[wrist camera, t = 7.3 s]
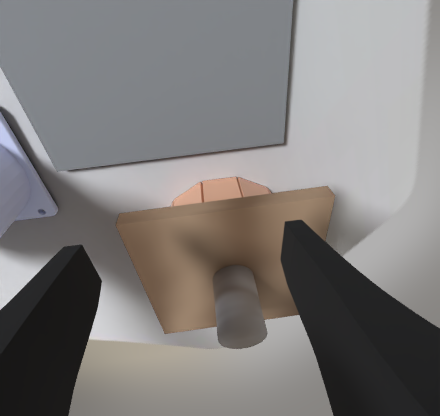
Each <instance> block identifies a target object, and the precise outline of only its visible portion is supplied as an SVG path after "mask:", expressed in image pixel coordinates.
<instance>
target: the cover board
mask: <svg viewBox="0 0 440 416" xmlns="http://www.w3.org/2000/svg"><path fill="white" fill-rule="evenodd" d="M334 199H335V195H334V194H333V193H332V191H331V190H330V189H329V187H328V186H324V187H316V188H309V189H301V190H293V191H286V192H278V193H271V194H263V195H256V196H248V197H241V198H233V199H226V200H218V201H210V202H203V203H195V204H188V205H180V206H173V207H165V208H158V209H150V210H143V211H135V212H128V213H120V214H119V217H118V220H117V223H116V227H117V229H118V231H119V234H120V236H121V238H122V240H123V242H124V245H125V247H126V249H127V251H128V254H129V256H130V258H131V260H132V262H133V265H134V267H135V269H136V271H137V273H138V276H139V278H140V280H141V282H142V284H143V287H144V289H145V291H146V293H147V296H148V298H149V300H150V302H151V304H152V307H153V309H154V311H155V313H156V315H157V318H158V320H159V322H160V324H161V326H162V329H163V331H164V333H165V334H168V333H175V332H182V331H189V330H196V329H203V328H210V327H217V333H218V342H219V343H220V344H221V345H222V346H224V347H227V348H232V349H242V348H248V347H251V346H254V345H256V344H259V343H260V342H262V341H263V340H264V339H265V338H266V336H267V329H266V325H265V321H264V320H266V319H273V318H280V317H287V316H294V315H299V313H298V310H297V308H296V305H295V303H294V300H293V298H292V295H291V293H290V290H289V288H288V285H287V282H286V279H285V275H284V271H283V268H282V264H281V260H280V258H281V249H282V241H283V233H284V224H285V221H293V220H303V221H304V222H305V223H306V224H307V225H308V226H309V227H310V228H311V229H312V230H313V231H314V232H315V233H317V234H318V235H319V236H320V237H321V238H322V239H323V240H324V241H325V240H326V235H327V231H328V226H329V222H330V217H331V212H332V208H333V203H334Z"/></svg>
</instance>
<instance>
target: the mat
mask: <svg viewBox="0 0 440 416" xmlns="http://www.w3.org/2000/svg"><path fill="white" fill-rule="evenodd" d="M292 10H293V0H0V67H1V69H2V71H3V73H4V74H5V76H6V78H7V80H8V82H9V84H10V86H11V87H12V89H13V91H14V93H15V95H16V97H17V98H18V100H19V102H20V104H21V106H22V108H23V110H24V111H25V113H26V115H27V117H28V119H29V121H30V122H31V124H32V126H33V128H34V130H35V132H36V134H37V135H38V137H39V139H40V141H41V143H42V145H43V146H44V148H45V150H46V152H47V154H48V156H49V158H50V159H51V161H52V163H53V165H54V167H55V169H56V171H57V172H58V171H66V170H74V169H82V168H90V167H98V166H106V165H114V164H121V163H129V162H137V161H145V160H153V159H161V158H169V157H177V156H185V155H193V154H201V153H209V152H217V151H225V150H233V149H241V148H249V147H257V146H265V145H273V144H281V143H284V132H285V116H286V101H287V86H288V71H289V56H290V41H291V25H292Z"/></svg>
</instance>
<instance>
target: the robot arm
mask: <svg viewBox="0 0 440 416" xmlns="http://www.w3.org/2000/svg"><path fill="white" fill-rule="evenodd" d="M41 209H42V210H44V211H42V210H41ZM57 212H58V207H57V206H56V204H55V202H54V201H53V199H52V197H51V196H50V194H49V192H48V190H47V189H46V187H45V185H44V184H43V182H42V180H41V179H40V177H39V175H38V174H37V172H36V170H35V169H34V167H33V165H32V164H31V162H30V160H29V159H28V157H27V155H26V154H25V152H24V150H23V149H22V147H21V145H20V144H19V142H18V140H17V139H16V137H15V135H14V134H13V132H12V130H11V129H10V127H9V125H8V124H7V122H6V120H5V119H4V117H3V115H2V114H1V112H0V238H1V237H2V235H3V234H4V233H5V232H6V230H7V229H8V228H9V227H10V225H11V224H12V223H13V221H18V220H25V219H33V218H41V217H49V216H54V215H56V213H57ZM280 260H281V264H282V268H283V271H284V275H285V279H286V282H287V285H288V288H289V290H290V293H291V295H292V298H293V300H294V303H295V305H296V308H297V310H298V313H299V315H300V318H301V320H302V322H303V325H304V327H305V330H306V332H307V335H308V337H309V339H310V342H311V345H312V347H313V350H314V353H315V355H316V358H317V362H318V365H319V368H320V371H321V375H322V378H323V381H324V384H325V388H326V391H327V395H328V398H329V401H330V405H331V408H332V412H333V415H334V416H440V328H438V327H436V326H435V325H433V324H431V323H430V322H428V321H427V320H425V319H424V318H422V317H421V316H419V315H418V314H416V313H415V312H413V311H412V310H410V309H409V308H407V307H406V306H405V305H403V304H402V303H400V302H399V301H397V300H396V299H395V298H393V297H392V296H390V295H389V294H387V293H386V292H385V291H383V290H382V289H381V288H379V287H378V286H377V285H376V284H374V283H373V282H372V281H370V280H369V279H368V278H367V277H365V276H364V275H363V274H362V273H360V272H359V271H358V270H357V269H356V268H354V267H353V266H352V265H351V264H350V263H349V262H347V261H346V260H345V259H344V258H343V257H342V256H341V255H339V254H338V253H337V252H336V251H335V250H334V249H333V248H332V247H330V246H329V245H328V244H327V243H326V242H325V241H324V240H323V239H322V238H321V237H320V236H319V235H318V234H317V233H315V232H314V231H313V230H312V229H311V228H310V227H309V226H308V225H307V224H306V223H305V222H304V221H303V220H293V221H285V224H284V233H283V241H282V249H281V258H280ZM101 283H102V280H101V279H100V277H99V275H98V273H97V271H96V269H95V268H94V266H93V264H92V262H91V260H90V259H89V257H88V255H87V253H86V251H85V250H84V248H83V246H82V245H75V246H67V247H63V248H62V249H61V250H60V251H59V252H58V253H57V254H56V255H55V256H54V257H53V258H52V259H51V260H50V261H49V262H48V263H47V264H46V265H45V266H44V267H43V268H42V269H41V270H40V271H39V272H38V273H37V274H36V275H35V276H34V277H33V278H32V279H31V280H30V281H29V282H28V283H27V284H26V286H25V287H24V288H23V289H22V290H21V291H20V292H19V293H18V294H17V295H16V296H15V297H14V298H13V299H12V300H11V301H10V302H9V303H7V304H6V305H5V306H4V307H3V308H2V309H1V310H0V416H68V414H69V409H70V405H71V399H72V395H73V390H74V386H75V382H76V379H77V375H78V371H79V368H80V365H81V361H82V358H83V355H84V352H85V349H86V345H87V342H88V339H89V335H90V332H91V329H92V325H93V322H94V319H95V315H96V312H97V308H98V302H99V297H100V290H101Z"/></svg>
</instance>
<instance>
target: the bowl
mask: <svg viewBox="0 0 440 416" xmlns="http://www.w3.org/2000/svg"><path fill="white" fill-rule="evenodd" d="M202 182H203V184H202V183H201V182H199V183H198V184H196V185H195V186H193V187H192V188H190V189H189V190H187V191H186V192H184V193H183V194H181V195H180V196H178V197H177V198H175V199H174V201H173V202H172V204H171V207H173V206H180V205H188V204H195V203H203V202H210V201H218V200H226V199H233V198H241V197H248V196H256V195H263V194H271V191H270V190H269V189H267V187H265V186H262V185H259V184H256V183H253V182H251V181H248V180H245V179H242V178H240V177H238V178H237V179H236V177H230V178H222V179H215V180H207V181H202Z"/></svg>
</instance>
